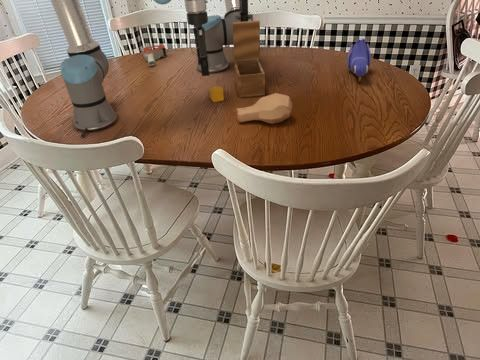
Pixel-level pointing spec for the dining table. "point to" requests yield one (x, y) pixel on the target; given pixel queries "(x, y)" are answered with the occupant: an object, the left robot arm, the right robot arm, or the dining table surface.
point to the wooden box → (249, 78)
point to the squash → (267, 109)
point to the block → (216, 94)
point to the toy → (359, 58)
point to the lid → (246, 39)
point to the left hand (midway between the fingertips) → (203, 69)
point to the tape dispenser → (153, 53)
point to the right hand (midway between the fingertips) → (244, 29)
